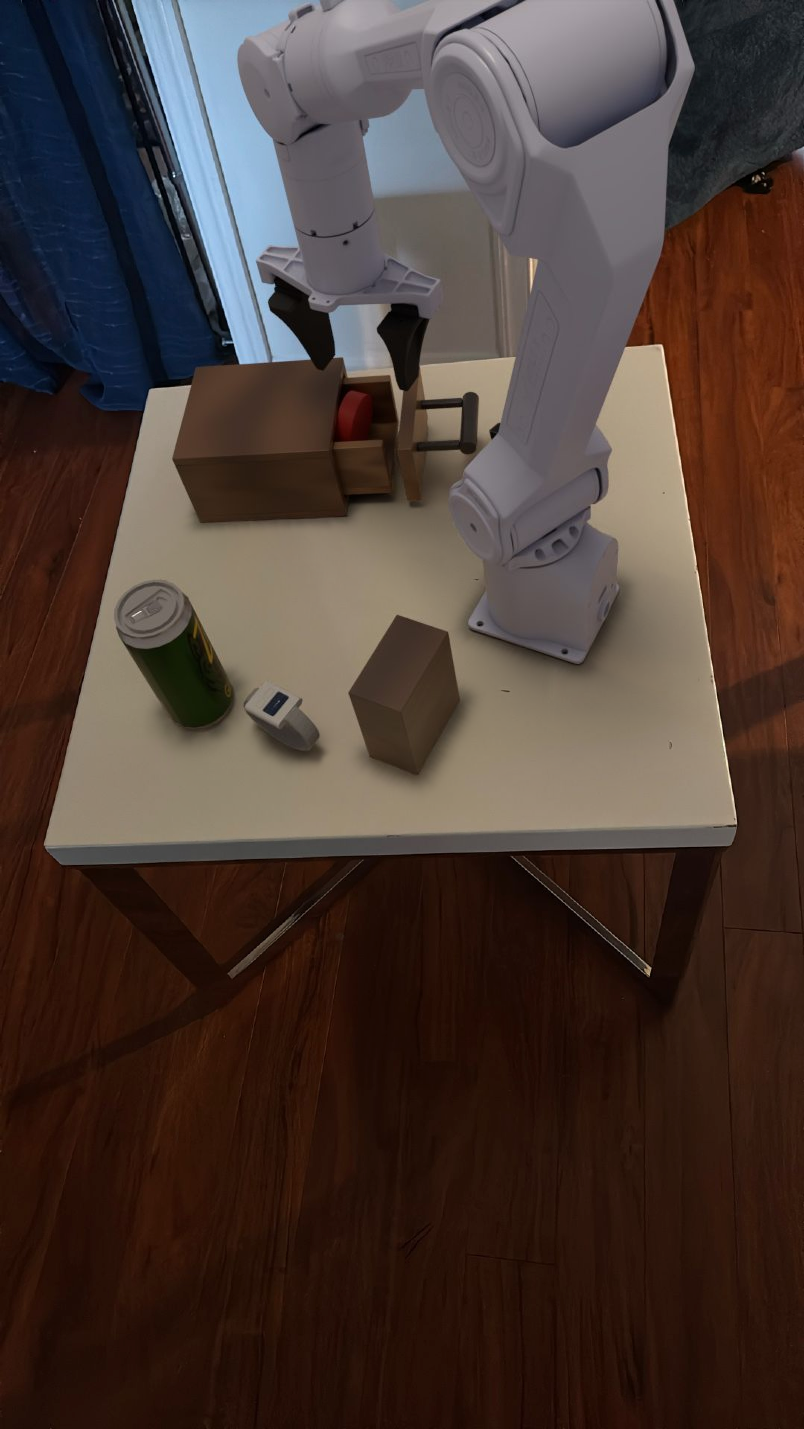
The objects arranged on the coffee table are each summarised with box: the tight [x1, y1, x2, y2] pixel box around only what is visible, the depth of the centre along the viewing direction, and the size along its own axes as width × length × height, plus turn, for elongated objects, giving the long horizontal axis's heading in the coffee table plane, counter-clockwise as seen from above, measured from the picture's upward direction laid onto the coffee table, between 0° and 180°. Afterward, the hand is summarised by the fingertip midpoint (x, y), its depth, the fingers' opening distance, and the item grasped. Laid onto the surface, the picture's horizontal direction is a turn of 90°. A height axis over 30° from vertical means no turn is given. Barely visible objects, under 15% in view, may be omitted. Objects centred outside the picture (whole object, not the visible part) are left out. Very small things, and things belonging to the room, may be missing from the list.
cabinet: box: [171, 356, 350, 523], centre depth 90 cm, size 13×11×8 cm
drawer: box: [332, 365, 480, 502], centre depth 88 cm, size 17×10×6 cm, turn 86°
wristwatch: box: [242, 680, 321, 752], centre depth 76 cm, size 6×3×5 cm, turn 55°
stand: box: [348, 614, 461, 775], centre depth 73 cm, size 4×7×8 cm, turn 152°
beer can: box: [113, 579, 234, 730], centre depth 75 cm, size 5×5×12 cm
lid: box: [334, 391, 373, 442], centre depth 88 cm, size 5×5×2 cm
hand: (366, 372), depth 83 cm, fingers open, 7 cm apart
